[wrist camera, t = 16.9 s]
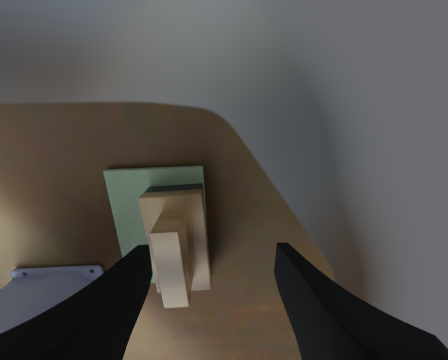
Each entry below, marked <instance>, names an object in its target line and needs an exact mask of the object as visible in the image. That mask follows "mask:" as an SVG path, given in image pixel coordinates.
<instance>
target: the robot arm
mask: <svg viewBox="0 0 448 360" xmlns="http://www.w3.org/2000/svg"><path fill="white" fill-rule="evenodd" d="M93 270H94V271H93ZM274 274H275V278H276V283H277V286H278V290H279V293H280V296H281V298H282V301H283V304H284V307H285V309H286V312H287V315H288V317H289V320H290V323H291V325H292V328H293V331H294V334H295V337H296V340H297V343H298V346H299V350H300V354H301V357H302V360H448V348H446V346H445V345H444V344H443V343H442V342H441V341H440V340H439V339H438V338H437V337H436V336H435V335H433V334H430V333H428V332H426V331H424V330H421V329H419V328H417V327H414V326H412V325H410V324H408V323H405V322H403V321H401V320H399V319H397V318H395V317H393V316H391V315H389V314H387V313H384V312H383V311H381V310H379V309H377V308H375V307H374V306H372V305H370V304H368V303H367V302H365V301H363V300H361V299H360V298H358V297H356V296H355V295H353V294H351V293H350V292H348V291H347V290H345V289H344V288H342V287H341V286H339V285H338V284H336V283H335V282H334V281H332V280H331V279H330V278H328V277H327V276H326V275H324V274H323V273H322V272H321V271H319V270H318V269H317V268H316V267H314V266H313V265H312V264H311V263H310V262H309V261H307V260H306V259H305V258H304V257H303V256H302V255H301V254H300V253H299V252H297V251H296V250H295V249H294V248H293V247H292V246H291V245H290V244H289V243H277V248H276V258H275V268H274ZM11 276H12V279H13V280H12V281H10V282H9V283H8V284H7V285H6V286H4V287H3V288H2V289H1V290H0V360H122V359H123V356H124V353H125V350H126V346H127V344H128V341H129V338H130V335H131V333H132V330H133V328H134V326H135V323H136V321H137V318H138V316H139V313H140V311H141V308H142V306H143V304H144V301H145V299H146V296H147V293H148V290H149V287H150V283H151V280H152V276H153V271H152V263H151V256H150V248H149V245H137V246H136V247H135V248H133V249H132V250H131V251H130V252H129V253H128V254H126V255H125V256H124V257H123V258H122V259H120V260H119V261H118V262H117V263H116V264H114V265H113V266H112V267H111V268H110V269H108V270H107V271H106V272H104V271H103V268H102V267H101V266H100V265H86V266H64V267H42V268H20V269H14V270H13V271H12V272H11Z"/></svg>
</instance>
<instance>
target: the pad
mask: <svg viewBox="0 0 448 360" xmlns="http://www.w3.org/2000/svg"><path fill="white" fill-rule="evenodd" d="M103 173H104V177H105V182H106V186H107V191H108V195H109V200H110V204H111V209H112V213H113V218H114V222H115V227H116V231H117V236H118V240H119V245H120V249H121V254H122V258H123V257H124V256H125V255H126V254H128V253H129V252H130V251H131V250H132V249H133V248H135V247H136V246H137V245H147V240H146V235H145V230H144V225H143V220H142V216H141V211H140V206H139V201H138V198H139V196H140V195H141V194H142V193H144V192H145V191H146V190H147V189H148V187H151V186H167V185H182V184H197V183H202V184H203V193H204V203H205V189H204V173H203V166H179V167H153V168H126V169H106V170H104V171H103ZM205 213H206V204H205ZM206 224H207V220H206ZM152 271H153V269H152ZM151 283H155V279H154V274H153V276H152V280H151Z"/></svg>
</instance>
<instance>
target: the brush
mask: <svg viewBox="0 0 448 360" xmlns="http://www.w3.org/2000/svg"><path fill="white" fill-rule="evenodd" d="M138 201H139V206H140V211H141V216H142V220H143V225H144V230H145V235H146V240H147V245H149V248H150V256H151V263H152V269H153V274H154V279H155V284H156V288H157V293H162V299H163V304H164V308H175V307H189V303H190V296H191V291H197V290H211V282H212V280H211V265H210V254H209V244H208V234H207V224H206V213H205V203H204V193H203V184H202V183H197V184H182V185H167V186H151V187H148V189H147V190H146V191H145V192H144V193H142V194H141V195H140V196H139V198H138Z"/></svg>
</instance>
